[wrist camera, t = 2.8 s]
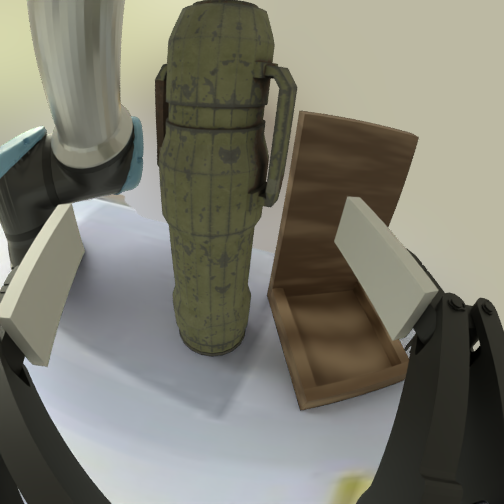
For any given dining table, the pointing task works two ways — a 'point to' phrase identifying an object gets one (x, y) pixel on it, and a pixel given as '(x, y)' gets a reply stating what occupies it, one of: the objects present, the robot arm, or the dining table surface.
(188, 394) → the dining table surface
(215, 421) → the dining table surface
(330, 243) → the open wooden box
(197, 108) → the thermos
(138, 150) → the robot arm
